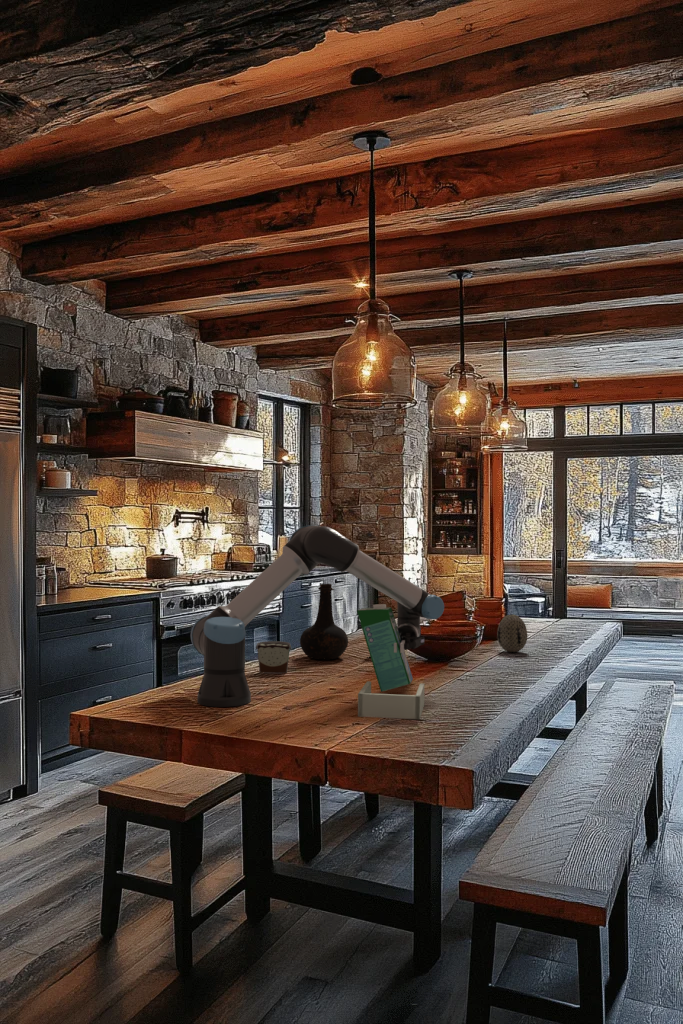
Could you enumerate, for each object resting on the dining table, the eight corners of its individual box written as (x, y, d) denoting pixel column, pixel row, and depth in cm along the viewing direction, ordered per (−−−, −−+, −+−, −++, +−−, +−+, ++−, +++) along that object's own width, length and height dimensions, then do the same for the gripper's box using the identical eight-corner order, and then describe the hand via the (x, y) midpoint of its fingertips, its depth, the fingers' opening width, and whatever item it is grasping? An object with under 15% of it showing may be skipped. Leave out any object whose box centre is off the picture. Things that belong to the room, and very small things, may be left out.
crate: (419, 719, 217) (419, 696, 217) (357, 716, 220) (358, 693, 220) (424, 704, 234) (424, 683, 234) (366, 702, 237) (367, 681, 237)
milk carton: (410, 684, 242) (385, 601, 244) (380, 692, 243) (356, 610, 246) (413, 679, 251) (389, 599, 253) (384, 687, 252) (361, 608, 255)
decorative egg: (532, 654, 323) (532, 615, 323) (505, 655, 320) (505, 616, 320) (518, 649, 334) (518, 612, 335) (492, 650, 331) (492, 613, 331)
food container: (294, 670, 286) (294, 641, 286) (291, 673, 280) (291, 644, 280) (258, 669, 287) (259, 640, 287) (255, 672, 281) (255, 643, 281)
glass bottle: (290, 659, 308) (291, 583, 309) (318, 652, 323) (319, 581, 323) (330, 664, 298) (330, 586, 299) (356, 657, 313) (357, 583, 314)
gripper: (428, 648, 264) (422, 661, 241) (383, 647, 267) (374, 660, 243) (428, 625, 264) (422, 635, 241) (383, 624, 267) (374, 634, 243)
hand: (398, 648), depth 242 cm, fingers closed on milk carton
